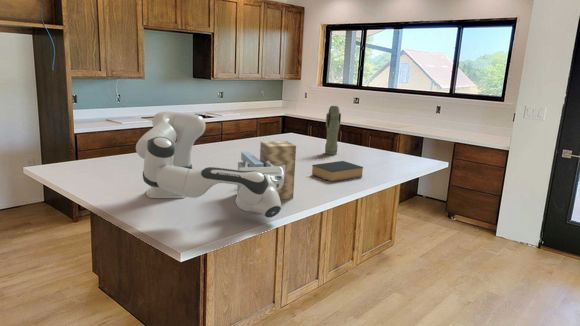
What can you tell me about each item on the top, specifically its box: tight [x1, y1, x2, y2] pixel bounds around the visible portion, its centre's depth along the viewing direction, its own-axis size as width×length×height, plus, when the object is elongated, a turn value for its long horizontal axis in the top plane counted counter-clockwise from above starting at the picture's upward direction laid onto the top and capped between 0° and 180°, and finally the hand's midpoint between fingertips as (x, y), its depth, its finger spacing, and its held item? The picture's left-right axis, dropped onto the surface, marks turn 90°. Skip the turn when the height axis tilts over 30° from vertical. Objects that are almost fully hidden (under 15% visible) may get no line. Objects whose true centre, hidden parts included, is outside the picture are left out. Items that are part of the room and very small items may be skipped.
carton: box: [259, 140, 297, 200], centre depth 212 cm, size 14×12×26 cm
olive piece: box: [324, 105, 342, 156], centre depth 316 cm, size 9×12×35 cm
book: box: [311, 160, 364, 182], centre depth 257 cm, size 17×25×7 cm
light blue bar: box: [240, 151, 264, 167], centre depth 205 cm, size 4×26×4 cm, turn 20°
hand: (257, 162), depth 195 cm, fingers open, 8 cm apart
